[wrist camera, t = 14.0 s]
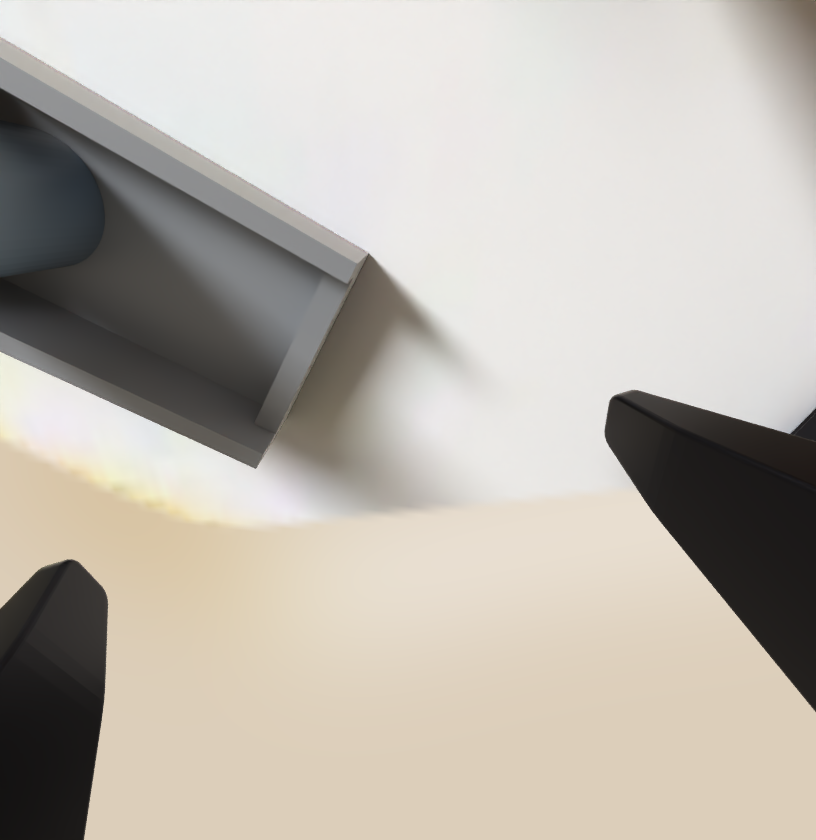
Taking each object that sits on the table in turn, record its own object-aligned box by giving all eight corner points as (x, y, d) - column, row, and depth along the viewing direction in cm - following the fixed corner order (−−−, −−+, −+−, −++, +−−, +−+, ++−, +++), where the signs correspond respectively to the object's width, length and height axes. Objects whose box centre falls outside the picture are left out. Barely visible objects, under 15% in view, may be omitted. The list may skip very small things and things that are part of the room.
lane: (368, 253, 16) (348, 271, 10) (285, 419, 19) (234, 504, 13) (-127, -38, 13) (-522, -227, 7) (-145, 208, 15) (-451, 204, 10)
